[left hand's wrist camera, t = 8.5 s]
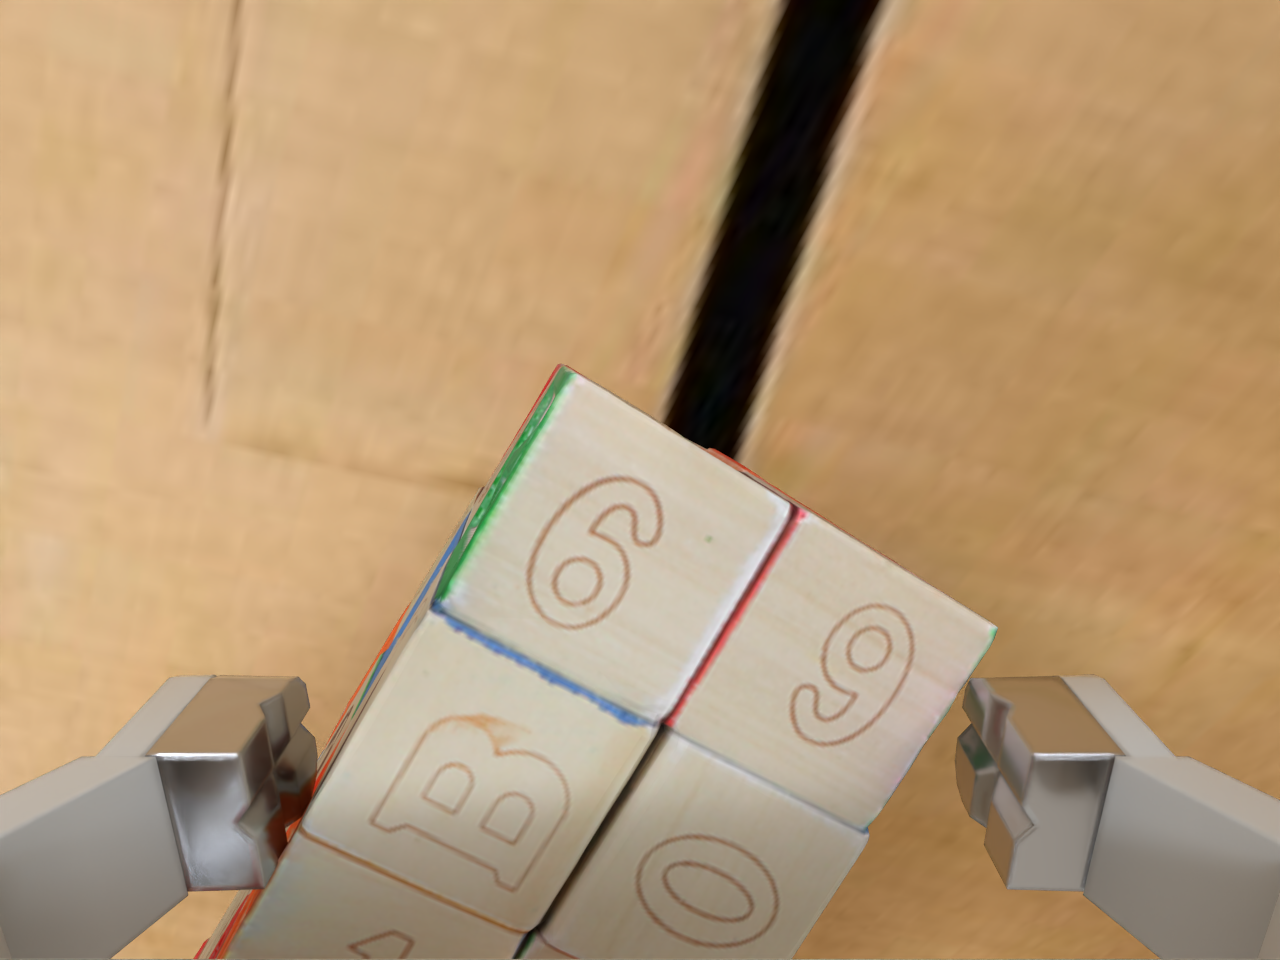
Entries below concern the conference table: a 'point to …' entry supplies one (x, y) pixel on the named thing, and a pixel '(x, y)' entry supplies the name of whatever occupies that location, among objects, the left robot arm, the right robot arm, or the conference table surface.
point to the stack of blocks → (615, 718)
